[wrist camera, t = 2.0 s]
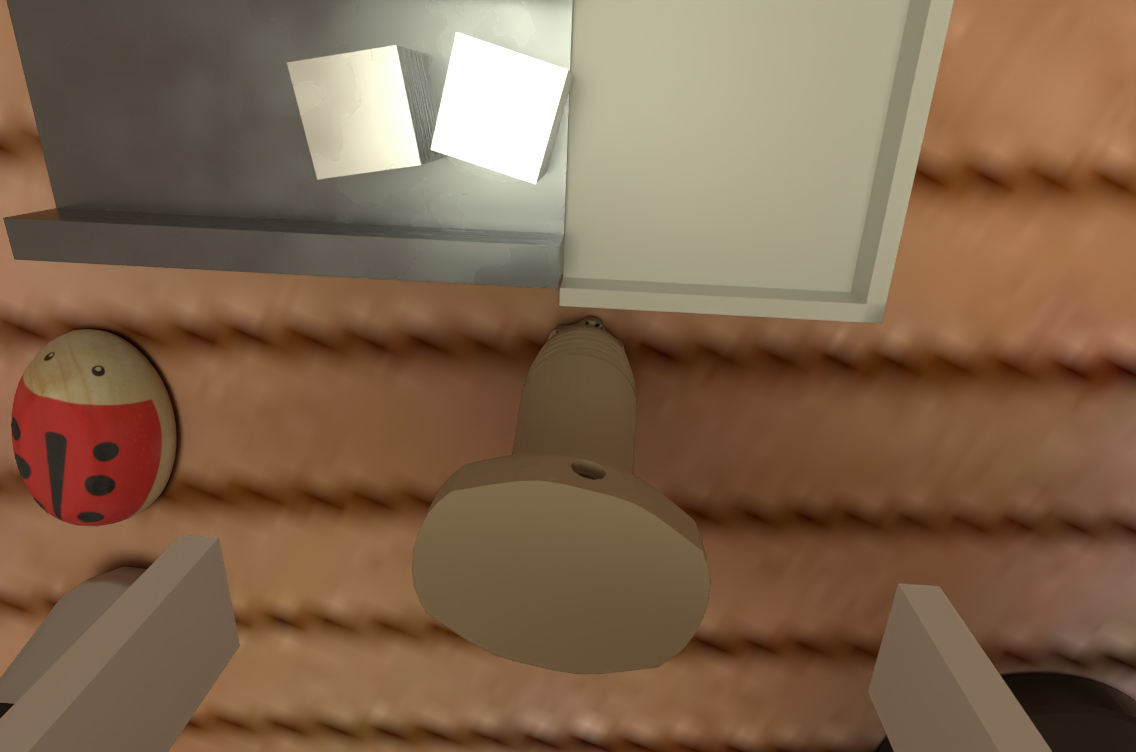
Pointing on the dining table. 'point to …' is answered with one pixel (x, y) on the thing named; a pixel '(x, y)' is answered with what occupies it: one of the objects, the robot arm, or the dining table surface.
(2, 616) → the dining table surface
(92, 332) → the ladybug figurine
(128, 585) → the salt shaker
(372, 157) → the pale beige cube
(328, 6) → the rail
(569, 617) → the handle
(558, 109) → the pale grey cube
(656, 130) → the tray
